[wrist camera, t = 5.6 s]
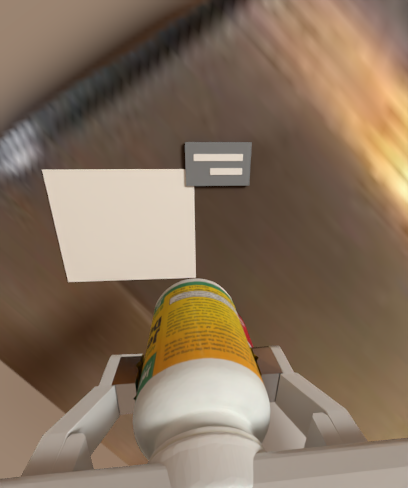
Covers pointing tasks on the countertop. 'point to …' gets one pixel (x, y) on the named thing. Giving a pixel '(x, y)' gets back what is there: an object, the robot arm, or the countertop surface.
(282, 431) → the robot arm
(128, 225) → the paper sheet
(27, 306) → the countertop surface
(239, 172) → the word card
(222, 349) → the supplement bottle
